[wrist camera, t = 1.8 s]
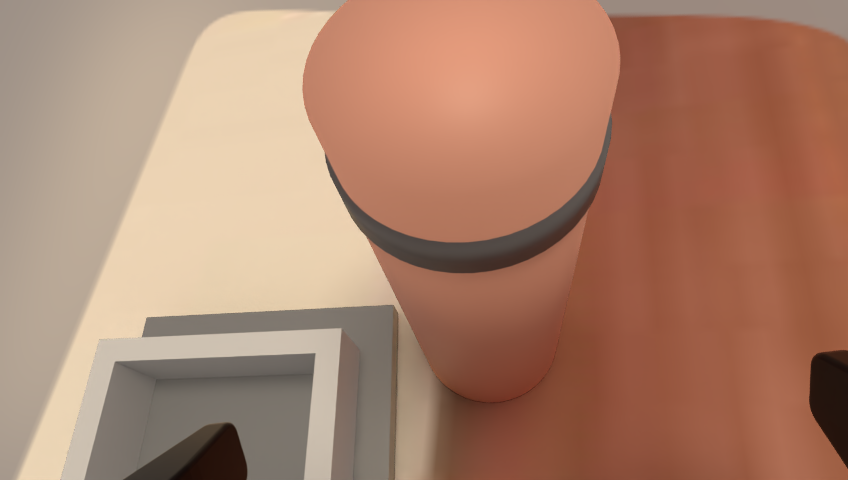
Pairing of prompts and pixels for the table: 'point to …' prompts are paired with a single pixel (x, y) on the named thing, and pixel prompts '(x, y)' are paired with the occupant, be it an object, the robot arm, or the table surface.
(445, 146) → the banded pink rod
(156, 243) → the table surface
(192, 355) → the jig
